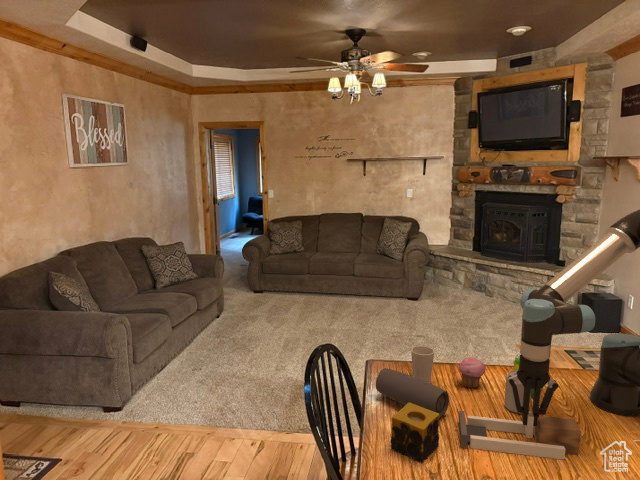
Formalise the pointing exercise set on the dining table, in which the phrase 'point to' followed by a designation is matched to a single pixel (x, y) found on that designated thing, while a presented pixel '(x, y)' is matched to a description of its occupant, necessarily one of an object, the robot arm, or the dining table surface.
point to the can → (509, 393)
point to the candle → (415, 432)
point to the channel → (511, 445)
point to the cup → (422, 362)
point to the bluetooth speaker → (412, 391)
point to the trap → (468, 430)
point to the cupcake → (471, 371)
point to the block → (558, 433)
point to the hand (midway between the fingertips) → (528, 435)
